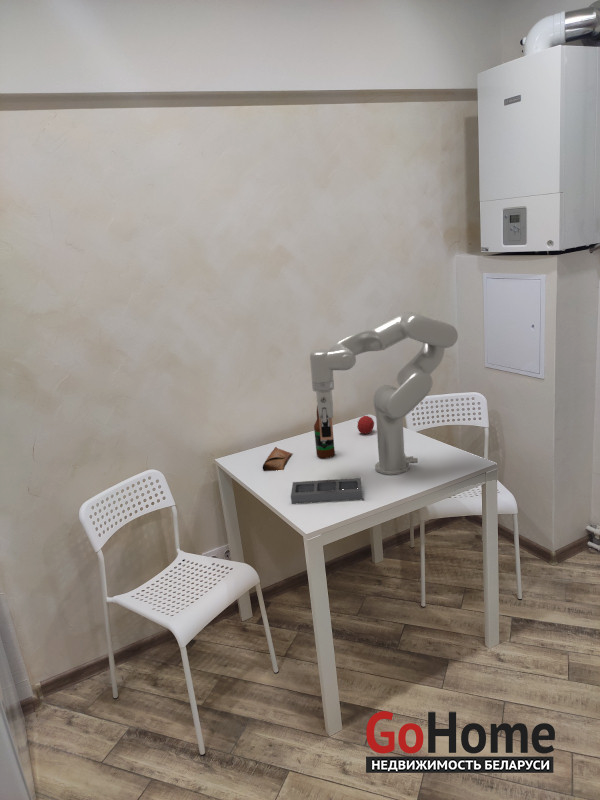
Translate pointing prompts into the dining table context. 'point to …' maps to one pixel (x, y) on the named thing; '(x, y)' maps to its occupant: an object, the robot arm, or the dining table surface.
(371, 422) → the red textured ball
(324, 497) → the rack
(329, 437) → the peg
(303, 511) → the dining table surface
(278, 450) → the sunglasses case
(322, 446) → the bottle
